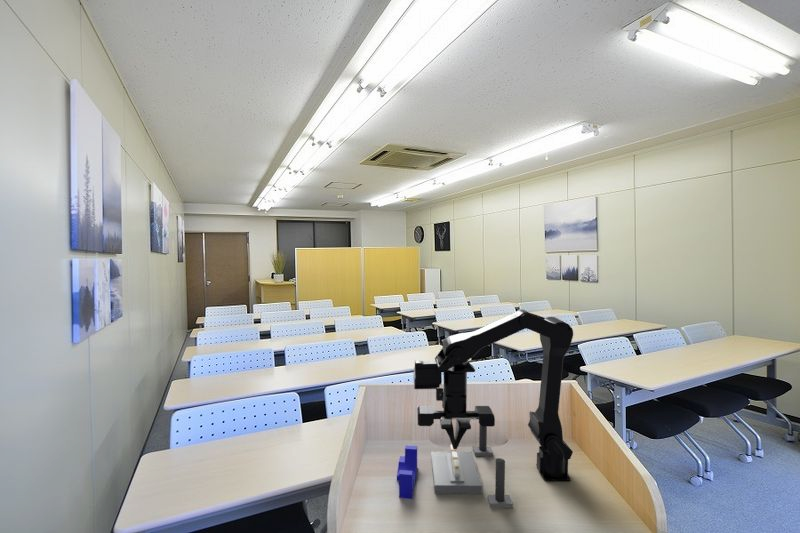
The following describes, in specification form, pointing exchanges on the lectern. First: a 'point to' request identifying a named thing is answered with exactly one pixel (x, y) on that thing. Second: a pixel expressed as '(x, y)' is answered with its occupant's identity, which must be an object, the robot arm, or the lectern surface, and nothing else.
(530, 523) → the lectern surface
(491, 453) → the grey post on base
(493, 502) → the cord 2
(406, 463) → the cable clip
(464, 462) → the breaker panel
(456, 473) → the breaker paddles
